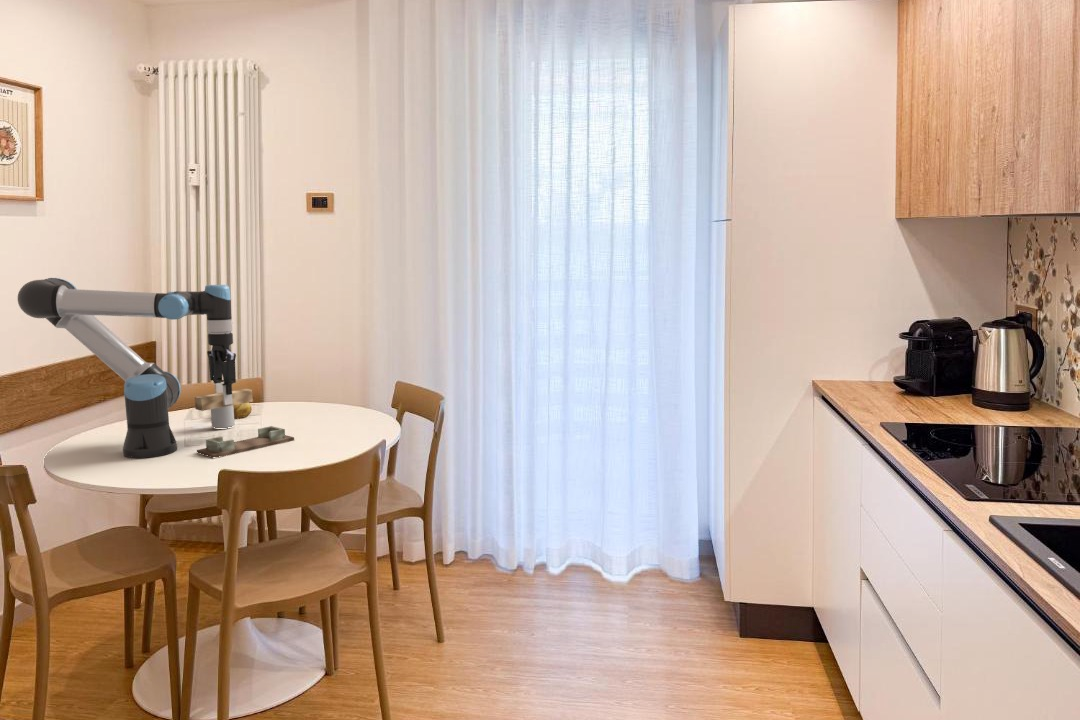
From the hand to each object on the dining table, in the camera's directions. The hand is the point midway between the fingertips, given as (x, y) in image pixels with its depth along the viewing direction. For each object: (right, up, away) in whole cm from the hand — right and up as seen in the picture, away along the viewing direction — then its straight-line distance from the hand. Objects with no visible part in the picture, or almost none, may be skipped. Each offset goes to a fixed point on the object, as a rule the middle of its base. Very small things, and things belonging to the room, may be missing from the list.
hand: (224, 403), depth 266 cm
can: (-7, -10, +18) cm, 22 cm away
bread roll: (-10, -7, +37) cm, 39 cm away
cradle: (+11, -13, -9) cm, 19 cm away
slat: (0, -1, 0) cm, 1 cm away
